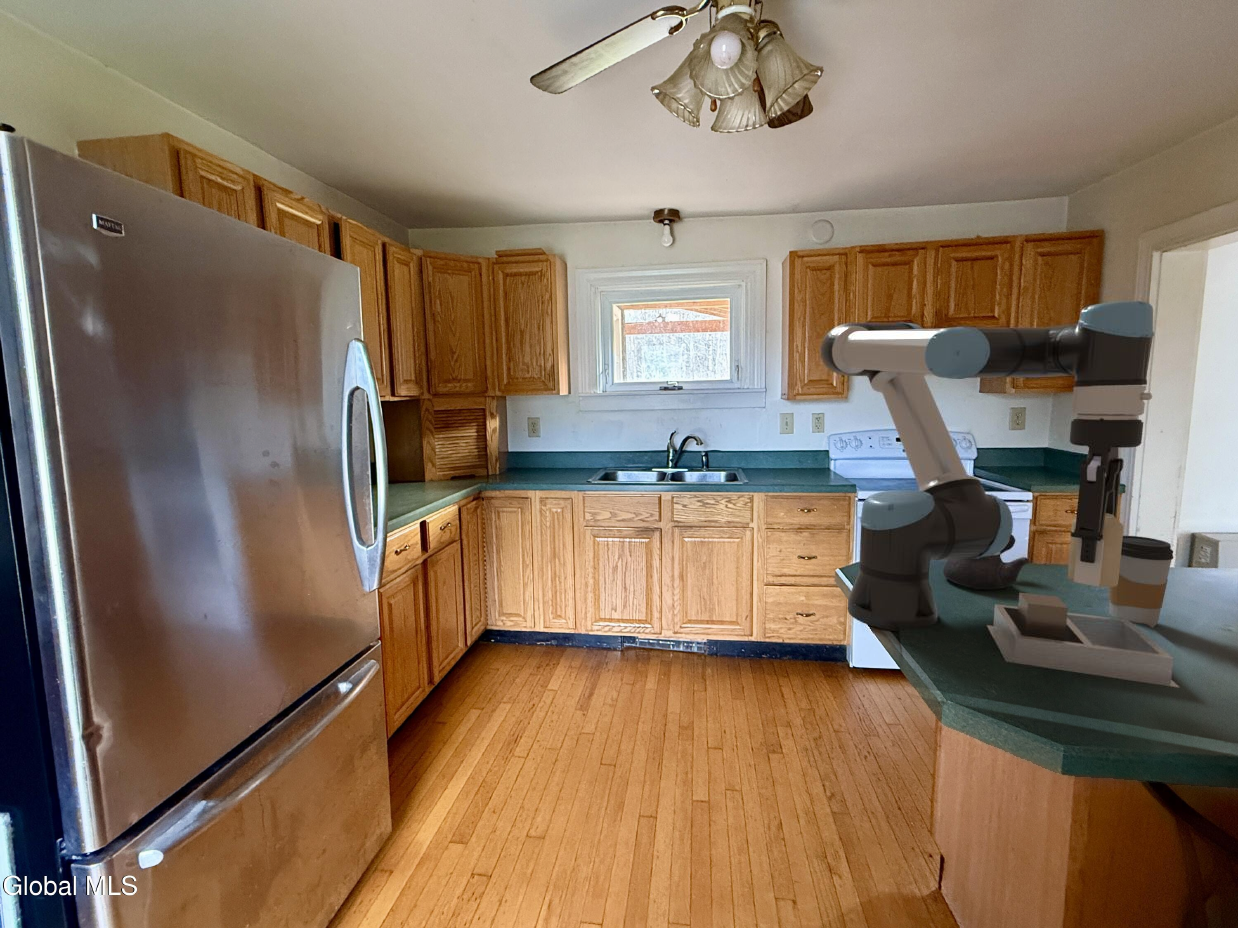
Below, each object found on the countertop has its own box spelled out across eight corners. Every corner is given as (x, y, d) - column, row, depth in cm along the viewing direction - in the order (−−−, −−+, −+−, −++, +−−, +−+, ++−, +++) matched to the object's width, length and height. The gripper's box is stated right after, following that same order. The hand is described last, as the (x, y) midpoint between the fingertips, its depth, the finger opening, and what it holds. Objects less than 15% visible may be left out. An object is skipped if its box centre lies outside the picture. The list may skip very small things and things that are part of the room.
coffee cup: (1178, 632, 94) (1188, 548, 92) (1121, 629, 96) (1131, 546, 94) (1142, 613, 102) (1151, 535, 100) (1091, 610, 104) (1099, 534, 102)
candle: (1076, 584, 77) (1081, 515, 76) (1061, 573, 82) (1066, 508, 81) (1125, 589, 75) (1132, 518, 74) (1107, 577, 80) (1113, 510, 79)
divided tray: (1005, 667, 83) (1008, 636, 83) (986, 630, 96) (988, 603, 95) (1178, 694, 75) (1183, 659, 75) (1132, 649, 88) (1135, 620, 88)
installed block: (1023, 651, 86) (1027, 603, 85) (1015, 638, 91) (1019, 592, 90) (1063, 657, 84) (1067, 607, 83) (1052, 643, 89) (1056, 596, 88)
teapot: (1017, 602, 109) (1021, 553, 107) (933, 582, 120) (936, 538, 119) (1043, 580, 121) (1046, 536, 119) (964, 564, 132) (967, 524, 131)
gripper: (1131, 420, 67) (1113, 602, 70) (1154, 415, 79) (1138, 570, 82) (1055, 419, 73) (1041, 587, 76) (1086, 414, 85) (1074, 560, 87)
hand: (1091, 578), depth 79 cm, fingers closed on candle, 5 cm apart
